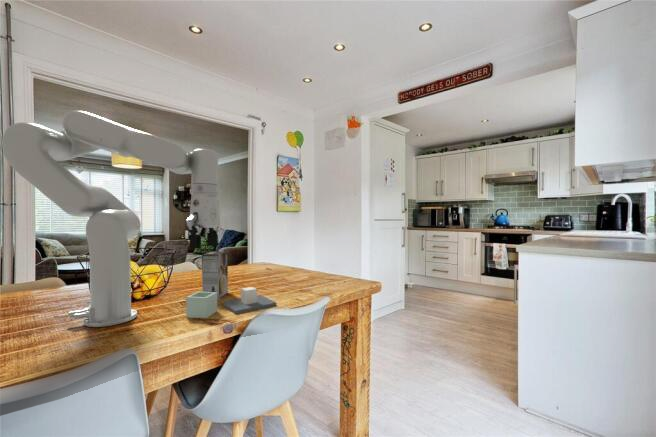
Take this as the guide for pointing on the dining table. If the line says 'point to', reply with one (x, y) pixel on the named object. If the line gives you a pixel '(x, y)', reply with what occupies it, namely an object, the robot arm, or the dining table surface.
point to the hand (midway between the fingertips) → (204, 246)
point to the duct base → (248, 307)
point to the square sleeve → (201, 304)
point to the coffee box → (215, 272)
